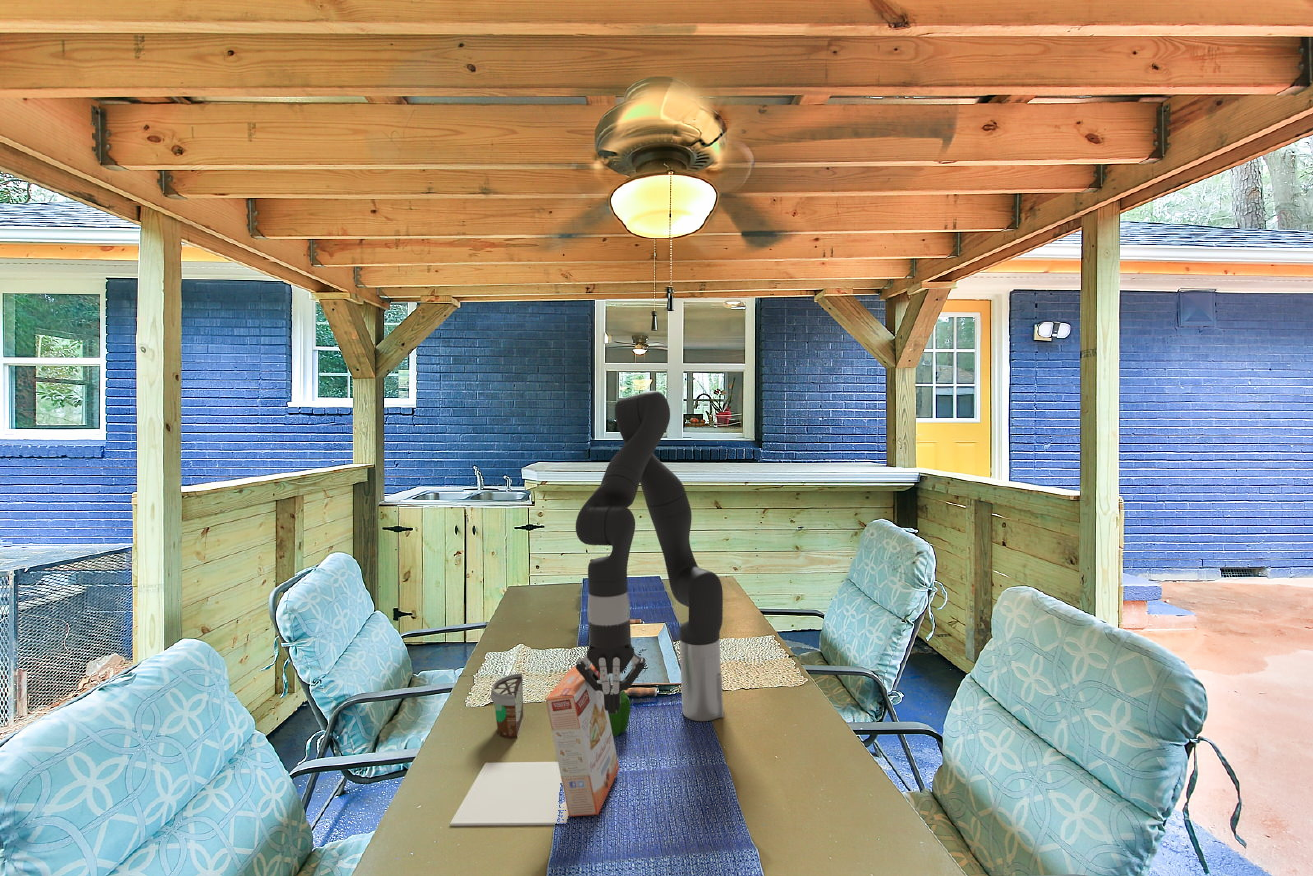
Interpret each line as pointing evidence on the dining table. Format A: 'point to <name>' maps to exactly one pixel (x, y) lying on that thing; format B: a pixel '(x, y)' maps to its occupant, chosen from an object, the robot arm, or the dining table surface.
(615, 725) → the bell pepper
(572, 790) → the cracker box
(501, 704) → the food container
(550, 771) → the off-white mat
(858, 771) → the dining table surface
